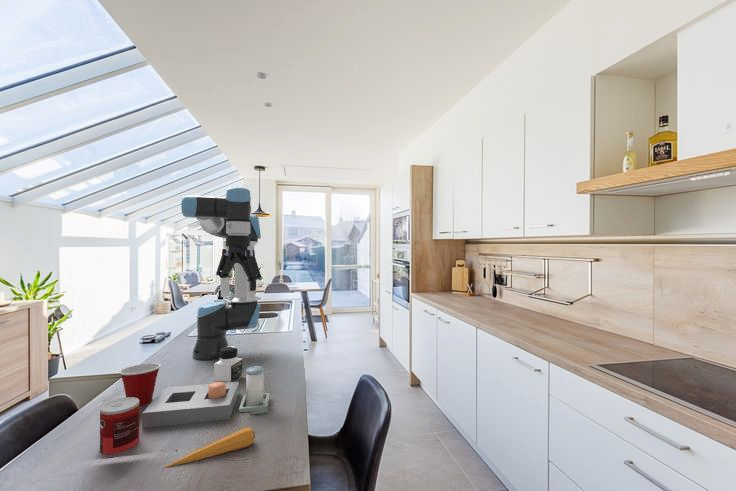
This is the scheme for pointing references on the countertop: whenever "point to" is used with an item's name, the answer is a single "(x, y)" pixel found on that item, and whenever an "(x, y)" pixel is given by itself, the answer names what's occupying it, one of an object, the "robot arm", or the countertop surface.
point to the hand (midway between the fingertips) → (237, 298)
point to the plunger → (217, 390)
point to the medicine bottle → (228, 365)
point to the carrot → (221, 446)
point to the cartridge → (254, 386)
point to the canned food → (119, 425)
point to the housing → (189, 406)
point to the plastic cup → (140, 381)
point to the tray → (255, 409)
